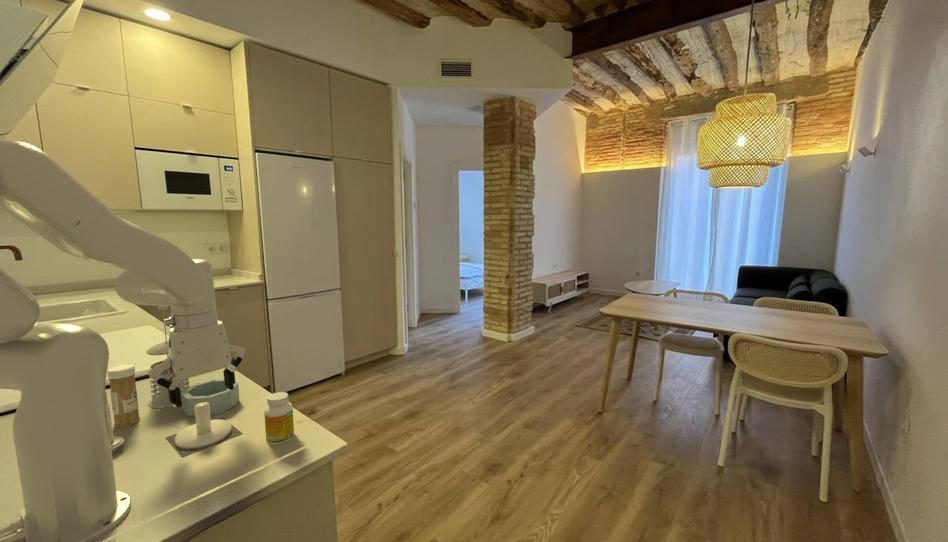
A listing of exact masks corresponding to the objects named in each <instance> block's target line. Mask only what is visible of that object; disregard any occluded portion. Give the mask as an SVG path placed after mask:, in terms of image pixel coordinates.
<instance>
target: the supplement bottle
mask: <svg viewBox="0 0 948 542" xmlns="http://www.w3.org/2000/svg"><path fill="white" fill-rule="evenodd" d="M266 400H267V401H266V404H267V406H266V407H265V409H264V425H265V426H264V428H265V441H266V443H268V444H270V445H280V444H284V443H286V442H288V441H290V440H292V439H293V438H294V435H295V427H294V425H295V424H294V410H293V409H294V408H293V404H292V403H291V401H290V400H289V394H288V392H286V391H285V392H284V391H280V392H278V391H277V392H274V393H271V394H269V395H268V396H267V399H266Z"/></svg>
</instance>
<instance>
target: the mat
mask: <svg viewBox="0 0 948 542" xmlns="http://www.w3.org/2000/svg"><path fill="white" fill-rule="evenodd" d="M216 420H226V418H225V417H220V418H217V419H216ZM231 427H232V431H231V433H230V434H229V435H228V436H227V437H226V438H224V439H223V440H221V441H219V442H217V443H215V444H212V445H209V446H206V447H202V448H196V449H181V448H178V447H177V446H176V444H175V437H176V435H177V434H178V433H179V432H178V433H175V434H172V435H169V436H166V437H165V439H166V441H167V442H168V443H169V444H170V445H171V447H172V448H173V449H174V450H175V451H176V452H177V454H178V455H179V456H180V457H181V458H184V457H187V456H190V455H193V454H195V453H197V452H200V451H203V450H205V449H208V448H211V447H213V446H216V445H218V444H221V443H223V442H226V441H228V440H230V439H234V438H236V437H238V436H241V435H243V434H244V433H243V432H242V431H240V430H239V429H238V428H237V427H235V426H234V425H233V424H232V423H231Z"/></svg>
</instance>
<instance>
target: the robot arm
mask: <svg viewBox="0 0 948 542" xmlns="http://www.w3.org/2000/svg"><path fill="white" fill-rule="evenodd" d="M0 209H1V210H2V211H4V212H5V213H7V214H8V215H10V216H11V217H12V218H13V219H15V220H16V221H18V222H20V223H21V224H23V225H24V226H25V227H27V228H28V229H30V230H31V231H33V232H34V233H36V234H37V235H39V236H41V238H43V240H46V241H47V242H48V243H49V244H50V245H53V246H54V247H55V248H57V249H58V250H60V251H62V252H63V253H65V254H68V255H70V256H73V257H75V258H78V259H82V260H86V261H87V262H92V263H97V264H102V265H106V266H108V267H109V266H110V267H114V268H118V269H121V270H123V271H122V272H121V273H119V275H118V276H117V278H116V279H115V281H114V282H115V283H114V289H115V292H116V294H117V296H118V297H119V298H120V299H122V300H123V301H125V302H127V303H128V304H133V305H138V306H152V307H153V306H158V307H159V306H167V307H170V308H171V314H170V316H169V317H167V318H165V319H164V318H163V326H164V325H165V326H166V327H167V326H170V327H171V326H172V328H170V330H169V336H168V342H169V354H168V357H169V358H168V359H167V358H165V359H166V360H165V359H164V362H162V363H161V364H159V365H158V366H156V367H155V368H153V369H151V370H149V371H148V373H147V375H148V376H149V378H150V377H151V378H150V379H152V381H153V380H154V381H155V382H156V383H158V384H159V385H161V386H163V387H165V388H168V392H169V400H170V403H171V404H173V403H174V404H175V405H176V408H181V407H182V401H181V394H180V389H179V388H178V387H177V386H178V384H179V383H180V382H181V380H182V379H187V378H189V379H191V378H194V377H198V376H201V375H204V374H205V375H206V374H208V373H209V374H210V373H212V372H216V371H218V370H219V371H220V370H222V369H224V370H223V371H222V372H223V379H224V382H225V387H227V388H228V389H229V390H233V389H234V385H233V384H235V382H236V375H235V372H236V371H237V367H238V366H239V365H240V364H241V363H242V361H243V357H244V355H245V352H246V351H247V350H246V348H245V347H242V346H237V345H233V344H229V340H228V335H227V331H226V327H225V326H224V325H225V324H224V322H223V321H221V320H218V319H219V318H218V313H217V312H218V311H217V310H218V309H217V301H216V295H215V294H216V292H215V284H214V274H213V273H214V272H213V266H212V264H211V262H210V261H208V260H206V259H201V258H200V259H199V258H198V259H197V258H196V259H194V258H191V257H190V256H189V255H188V254H187V253H186V252H185V251H184V250H183V249H181V248H180V247H179V246H177V245H176V244H174V243H172V242H170V241H169V240H167V239H165V238H163V237H161V236H159V235H158V234H155V233H153V232H151V231H149V230H146V229H145V228H143V227H142V226H140V225H137V224H135V223H133V222H131V221H129V220H126V219H124V218H122V217H121V216H119V215H117V214H116V213H115V212H113V210H111V209H110V208H109V207H108V206H107V205H105V203H104V202H102V201H101V200H100V199H99V198H97V197H96V196H95V194H93V193H92V192H91V191H90V190H88V189H87V188H86V187H85V186H84V185H82V184H81V182H79V181H78V180H77V179H76V178H75V177H74V176H72V174H70V173H69V172H68V171H67V170H65V169H64V168H63V166H61V165H60V164H59V163H58V162H57V161H55V160H54V159H53V158H52V157H51V156H50V155H48V154H47V153H46V152H45V151H44V150H42V149H40V148H38V147H36V146H34V145H31V144H30V143H26V142H22V141H19V140H12V139H0ZM40 318H41V307H40V303H39V301H38V299H37V298H36V297H35V295H34V294H33V292H31V291H30V290H29V289H28V288H27V287H26V286H25V285H23V284H22V283H21V282H20V281H18V280H17V279H16V278H14V277H13V276H11V275H10V274H9V273H8V272H6V271H5V270H4V269H2V268H1V267H0V389H1V390H12V391H18V392H19V391H20V394H21V395H20V401H19V402H18V405H17V408H16V411H15V412H14V415H13V419H12V436H13V437H12V438H13V443H14V448H15V454H16V461H17V466H18V467H17V468H18V473H19V480H20V488H21V492H22V500H23V506H24V507H23V508H21V509H20V511H21V516H18V517H16V518H14V519H11V522H10V523H8V524H7V523H6V524H5V525H3V526H0V542H92V541H93V542H94V541H96V540H97V539H99V538H101V537H102V536H104V535H106V534H107V533H109V532H110V531H112V530H113V529H114V528H116V527H117V526H118V525H119V524H120V523H121V522H122V521H123V520H124V519H125V518H126V517H127V515H128V514H129V512H130V511H131V508H132V499H131V497H130V495H129V494H127V493H125V492H123V491H120V490H117V486H116V479H115V478H116V477H115V469H114V461H113V459H114V458H113V453H112V451H111V442H110V434H109V426H108V417H107V409H106V396H105V392H106V384H107V383H106V382H107V381H106V380H107V375H108V372H107V371H108V367H109V360H110V350H109V345H108V343H107V342H106V340H105V338H104V337H103V336H102V335H100V334H99V333H98V332H97V331H95V330H93V329H91V328H88V327H86V326H82V325H79V324H70V323H61V322H60V323H58V322H57V323H56V322H39V321H40ZM231 353H235V355H234V357H233V358H232V354H231ZM169 367H170V371H171V373H172V374H171V376H170V377H169V378H168V380H167V379H165V378H163V377H161V375H160V374H161V373H162V372H163V371H165V370H166V369H168V368H169Z"/></svg>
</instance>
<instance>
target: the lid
mask: <svg viewBox="0 0 948 542" xmlns="http://www.w3.org/2000/svg"><path fill="white" fill-rule="evenodd" d="M194 407H195V417H194V418H195V423H194V424H192V425H189V426H187V427H185V428H183V429H181V431H179V432H178V434H177V433H176V434H177V435H176V437H175V444H176V446H177V447H178V448H181V449H196V448H202V447H206V446H209V445H212V444H215V443H217V442H219V441H221V440H223V439H224V438H226V437H227V436H228V435H229V434H230V433H231V431H232V427H231V424H232V423H231V422H230V421H229V420H227V419H225V420H217V419H211V416H210V406H209V403H208V402H202V403H199V404H196V405H195V406H194Z"/></svg>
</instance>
